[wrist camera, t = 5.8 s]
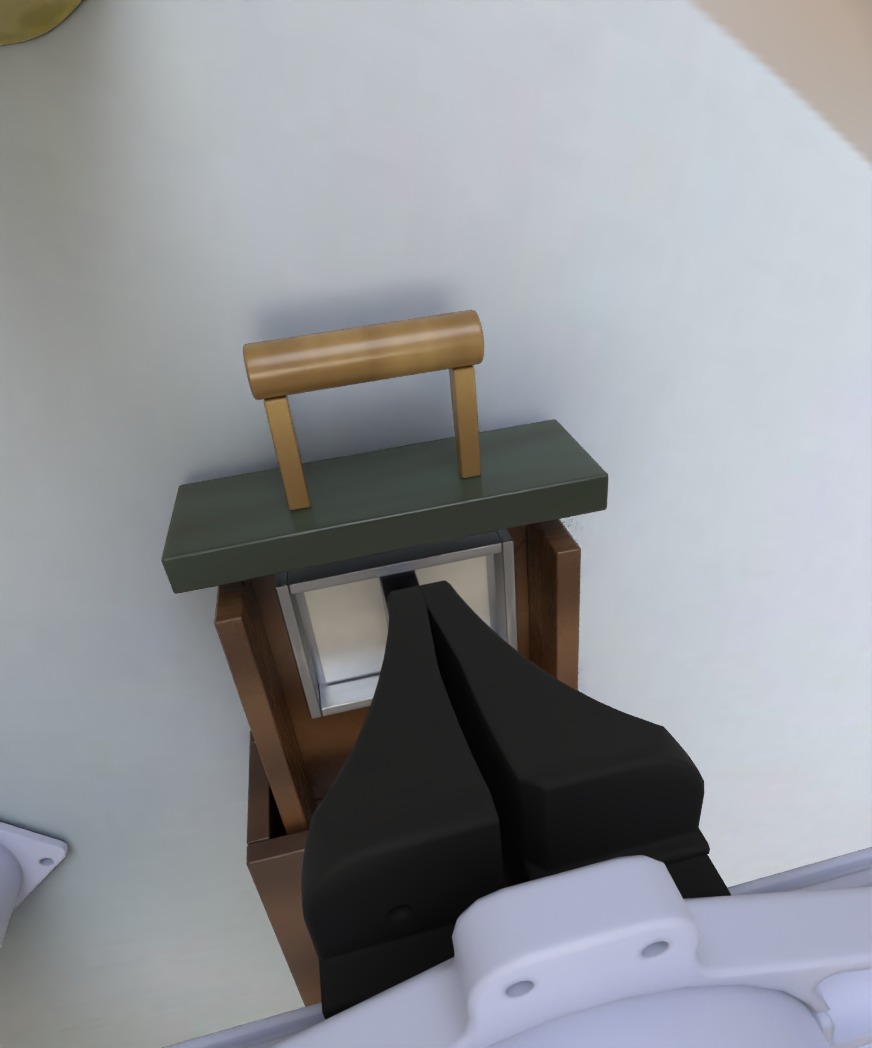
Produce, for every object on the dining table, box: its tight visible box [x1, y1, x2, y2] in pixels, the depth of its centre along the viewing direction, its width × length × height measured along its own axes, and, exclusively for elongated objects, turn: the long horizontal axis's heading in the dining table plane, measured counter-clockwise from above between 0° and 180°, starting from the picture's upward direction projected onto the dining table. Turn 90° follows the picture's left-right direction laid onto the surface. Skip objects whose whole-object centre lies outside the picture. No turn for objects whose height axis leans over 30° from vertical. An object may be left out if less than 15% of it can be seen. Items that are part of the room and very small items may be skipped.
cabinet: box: [247, 731, 321, 1007], centre depth 31 cm, size 17×14×6 cm
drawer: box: [162, 310, 608, 835], centre depth 23 cm, size 20×12×4 cm, turn 6°
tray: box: [275, 529, 518, 719], centre depth 22 cm, size 6×8×5 cm
